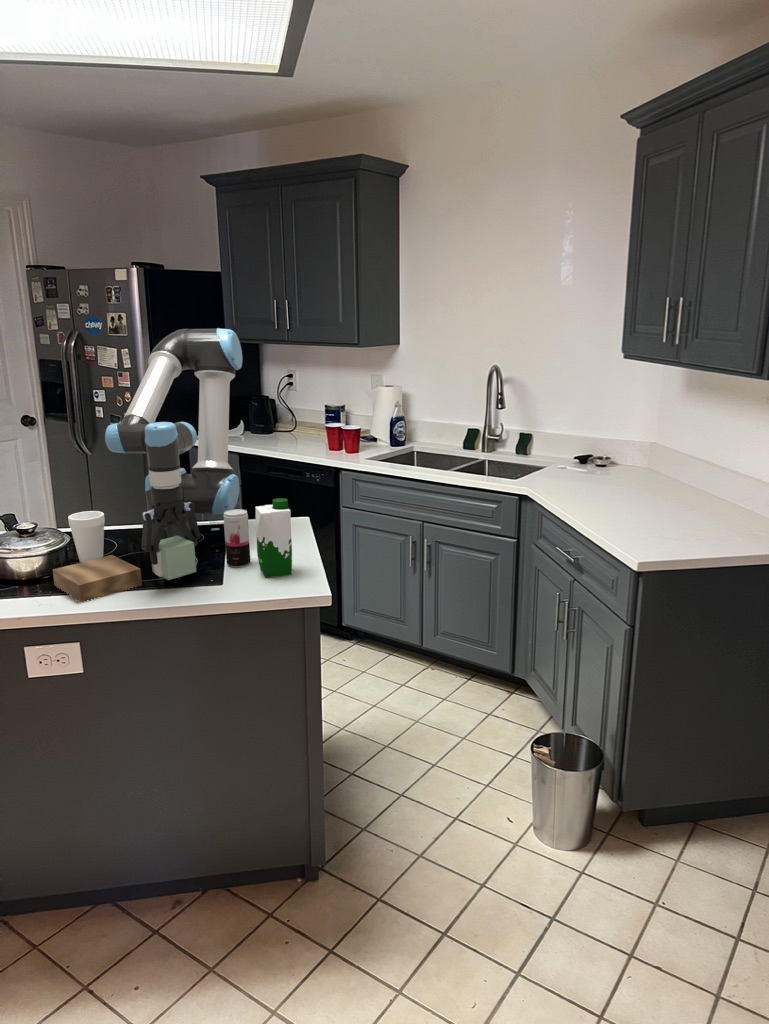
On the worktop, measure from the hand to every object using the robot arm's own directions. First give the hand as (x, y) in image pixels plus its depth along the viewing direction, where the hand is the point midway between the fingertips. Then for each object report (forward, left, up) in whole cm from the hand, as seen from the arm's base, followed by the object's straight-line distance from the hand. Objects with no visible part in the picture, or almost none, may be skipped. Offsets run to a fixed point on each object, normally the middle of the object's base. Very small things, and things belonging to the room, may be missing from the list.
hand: (174, 570), depth 194 cm
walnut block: (+14, -14, -4) cm, 20 cm away
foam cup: (+6, -36, -4) cm, 36 cm away
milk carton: (-24, +11, -4) cm, 26 cm away
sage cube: (0, 0, 0) cm, 0 cm away
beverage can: (-21, -2, -4) cm, 21 cm away
